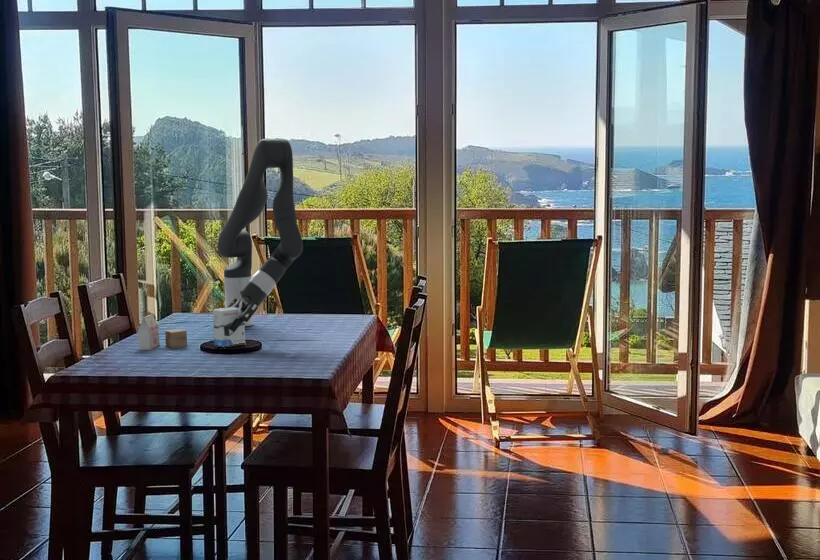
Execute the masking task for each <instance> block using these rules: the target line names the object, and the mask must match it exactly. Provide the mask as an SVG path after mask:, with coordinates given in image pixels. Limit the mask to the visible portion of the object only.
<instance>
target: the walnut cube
mask: <svg viewBox="0 0 820 560" xmlns="http://www.w3.org/2000/svg"><path fill="white" fill-rule="evenodd" d="M164 332H165V333H164V335H165V347H167V348H170V349H177V348H186V347H188V336H187V335H188V334H187V330H185V329H182V328H176V329H167V330H165V331H164Z"/></svg>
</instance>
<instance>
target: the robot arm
mask: <svg viewBox="0 0 820 560" xmlns="http://www.w3.org/2000/svg"><path fill="white" fill-rule="evenodd" d="M293 157H294V156H293V149H292V145H291V143H290V142H289V141H288V140H287V139H284V138H262V139H260V140H259V141H258V142H257V143H256V146H255V148H254V151H253V154H252V157H251V161H250V164H249V167H248V172H247V174H246V177H245V180H244V182H243V183H242V184H243V185H242V186H241V189H240V191H239V194H238V196H237V199H236V201H235V204H234V206H233V209H232V211H231V214H230V215H229V217H228V220H227V221H226V223H225V224H224V226H223V228H222V230H221V232H220V234H219V236H218V240H217V251H218V254H219V256H221V257H222V258H227V259H229V258H236V261H235V262H233V264H231V265H229V266H227V267H226V268H224V270H223V277H224V278H223V279H224V280H223V281H224V285H223V286H224V301H225V302H224V303H225V305H224V308H228V307H237V308H239V309H238V311H237V312H238V316H237V318H236V319H235V320H234V321H233V322H232V324H231V325H230V326H229V329H230V330H231V331H233V332H235V331H236V329H237V328H238V327H239V326H240V325H241V323H244V322H245V327H250V326H253V315H254V314H255V313H256V312H257V310H258V308H259V307H260V305H261V304H262V303H263V302H264V301H265V300H266V299H267V298H268V296H269V295H270V293H271V292H272V291H273V290H274V289H275V287H276V285H277V284H278V282H279V281H280V280H281V279H282V277H283V276H284V274H285V273H286V271H287V270H288V268H289V267H290V266H291V265H292V263H294V261H295V260H297V258H299V257H300V256H301V255H302V252H303V250H304V246H303V245H304V244H303V239H302V234H301V232H300V231H301V230H300V229H299V225H298V219H297V214H296V207H295V199H294V198H295V197H294V161H293V160H294V158H293ZM277 168H278V169H279V174H280V180H279V185H278V187H277V190H276V192H275V195H274V198H273V201H272V213H273V218H274V225H275V229H276V230H277V231H278V234H279V239H280V243H279V244H278V245H277V247H276V248H275V249H274V251H273V252H272V253H271V255H270V256H269V258H268V259H266V261H265V262H264V263H263V264H262V265H261V266H260V268H259V269H258V270H257V271H256V272H255V273H254V274H253V275H252V267H253V263H252V262H253V243H252V242H253V241H252V240H253V239H252V237H251V234H250V233H249V232H248V231H247V230H244V229H245V228H246V227H247V226H248V225H250V224H252V222H254V221H255V220H256V219H257V218H259V216H260V215H261V213H262V212H263V210H264V208H265V205H266V203H267V201H268V189H267V188H266V184H265V182H264V174H265V172H266V170H267V169H277ZM251 275H252V276H251Z"/></svg>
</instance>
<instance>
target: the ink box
mask: <svg viewBox="0 0 820 560" xmlns="http://www.w3.org/2000/svg"><path fill="white" fill-rule="evenodd" d="M238 309H239V308H237V307H228V308H225V307H222V308H214V309H213V310H212V316H213V317H212V318H213V342H214V343H213V344H214V345H218V346H222V347H224V346H229V345H234V344H239V343H245V344H246V332H245V331H246V330H245V327H246V326H245V322H244V323H241V325H240V326H239V327H238V328H237V329H236V331H235V332H233V331H231V330H230V329H229V326H230V325H231V324H232V322H233V321H234V320H235V319H236V318H237V316H238V312H237V311H238Z"/></svg>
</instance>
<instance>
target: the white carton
mask: <svg viewBox="0 0 820 560" xmlns="http://www.w3.org/2000/svg"><path fill="white" fill-rule="evenodd" d="M159 329H160V327H159V325H158V323H157V320H156V318H155V316H154V314H153V313H152V314H149V315H146V316H143V317H142V320H141V323H140V324H139V328H138V330H137V336H138V337H137V338H138V350H140V351H142V350H143V351H151V350H153V349H155V348H158V347H160V345H161V344H160V330H159Z"/></svg>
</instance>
